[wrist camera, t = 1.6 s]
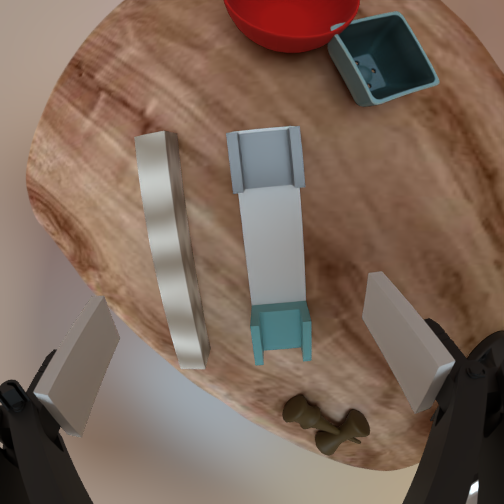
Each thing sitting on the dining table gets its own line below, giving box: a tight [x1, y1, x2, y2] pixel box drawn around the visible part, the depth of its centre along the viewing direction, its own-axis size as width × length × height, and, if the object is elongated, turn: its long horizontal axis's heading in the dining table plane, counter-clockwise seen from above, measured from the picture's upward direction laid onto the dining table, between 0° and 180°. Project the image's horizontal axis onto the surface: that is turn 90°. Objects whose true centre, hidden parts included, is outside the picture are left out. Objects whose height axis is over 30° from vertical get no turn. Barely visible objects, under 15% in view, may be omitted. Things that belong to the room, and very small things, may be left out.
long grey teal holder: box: [226, 126, 311, 365], centre depth 33 cm, size 28×7×6 cm, turn 6°
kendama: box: [282, 395, 370, 455], centre depth 44 cm, size 6×10×20 cm
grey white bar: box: [135, 131, 210, 369], centre depth 35 cm, size 30×4×5 cm, turn 5°
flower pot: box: [328, 11, 439, 107], centre depth 24 cm, size 9×9×9 cm
